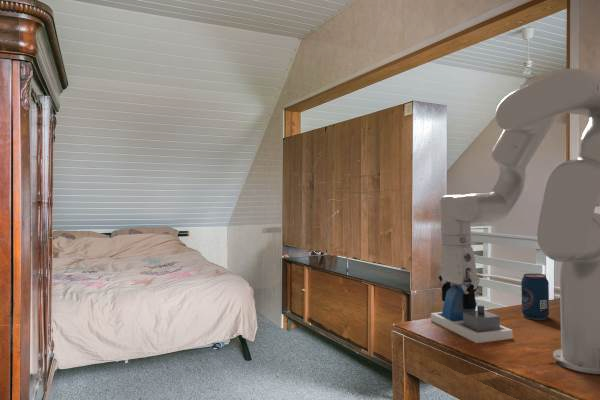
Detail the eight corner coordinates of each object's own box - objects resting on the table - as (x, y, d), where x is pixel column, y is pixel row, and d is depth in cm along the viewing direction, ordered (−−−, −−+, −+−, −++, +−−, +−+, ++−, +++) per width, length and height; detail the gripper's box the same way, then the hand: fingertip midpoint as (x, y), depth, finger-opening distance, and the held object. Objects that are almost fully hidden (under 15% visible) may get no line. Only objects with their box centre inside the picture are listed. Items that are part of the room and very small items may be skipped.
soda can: (516, 314, 133) (515, 273, 132) (538, 313, 134) (537, 272, 134) (532, 321, 126) (531, 278, 126) (555, 319, 127) (554, 276, 127)
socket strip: (512, 342, 109) (512, 330, 109) (476, 347, 106) (476, 334, 106) (462, 320, 128) (462, 309, 128) (431, 323, 126) (430, 313, 126)
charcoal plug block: (499, 336, 110) (499, 308, 110) (478, 339, 109) (477, 310, 109) (484, 329, 116) (483, 302, 116) (463, 332, 115) (462, 304, 115)
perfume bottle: (464, 315, 126) (473, 274, 123) (472, 325, 119) (481, 282, 117) (442, 312, 126) (450, 271, 123) (448, 322, 120) (457, 279, 117)
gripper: (489, 242, 114) (491, 310, 114) (449, 237, 131) (451, 297, 131) (463, 244, 112) (465, 313, 112) (426, 239, 129) (428, 299, 129)
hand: (458, 304), depth 122 cm, fingers open, 9 cm apart
